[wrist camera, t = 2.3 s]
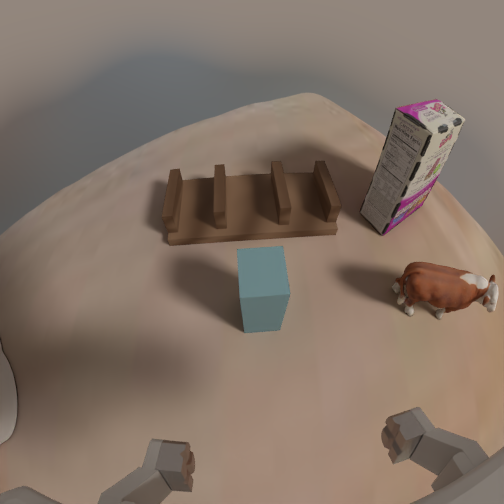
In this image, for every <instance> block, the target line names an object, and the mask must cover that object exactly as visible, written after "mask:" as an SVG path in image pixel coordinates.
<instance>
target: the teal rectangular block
mask: <svg viewBox="0 0 504 504" xmlns="http://www.w3.org/2000/svg"><path fill="white" fill-rule="evenodd" d="M237 258H238V276H239V294H240V304H241V311H242V318H243V326H244V333H252V332H265V331H277V330H280V328H281V325H282V321H283V318H284V314H285V311H286V307H287V304H288V300H289V297H290V289H289V282H288V275H287V269H286V262H285V256H284V250H283V246H276V247H261V248H247V249H237Z"/></svg>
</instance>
